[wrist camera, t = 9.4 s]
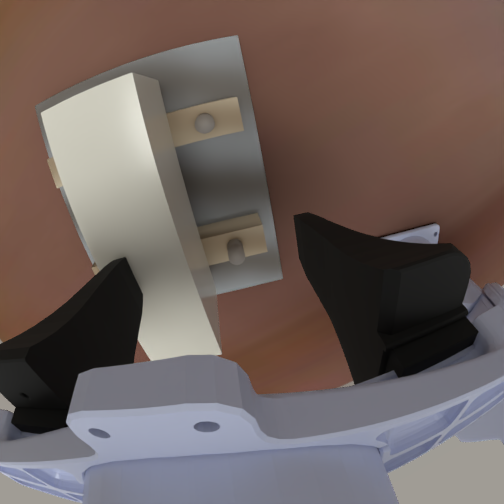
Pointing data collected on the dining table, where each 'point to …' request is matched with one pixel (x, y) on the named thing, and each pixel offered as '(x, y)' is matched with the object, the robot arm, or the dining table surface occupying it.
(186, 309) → the clay bar
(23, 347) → the robot arm
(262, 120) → the dining table surface
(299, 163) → the dining table surface
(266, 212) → the grey peg board
